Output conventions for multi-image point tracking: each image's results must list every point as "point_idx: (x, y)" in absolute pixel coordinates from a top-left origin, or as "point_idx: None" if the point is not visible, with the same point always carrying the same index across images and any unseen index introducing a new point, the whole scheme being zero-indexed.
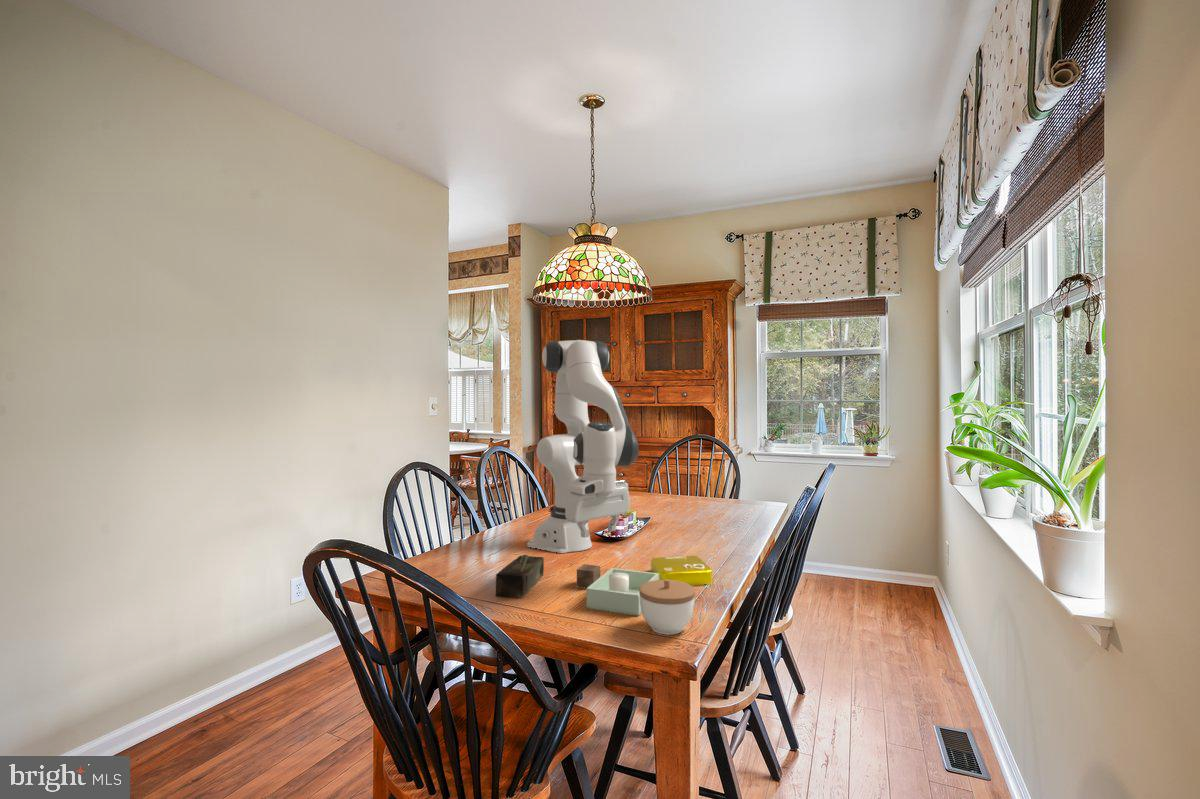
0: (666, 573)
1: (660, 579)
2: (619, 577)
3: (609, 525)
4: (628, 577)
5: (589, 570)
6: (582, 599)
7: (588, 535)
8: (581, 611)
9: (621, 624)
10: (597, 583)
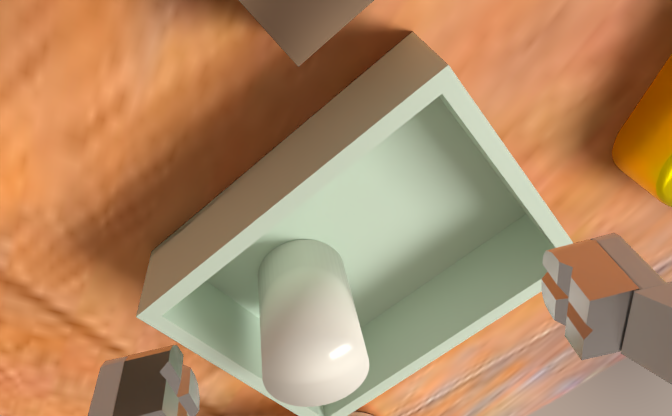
0: (660, 199)
1: (634, 148)
2: (304, 390)
3: (582, 321)
4: (350, 390)
5: (280, 33)
6: (168, 149)
7: (191, 405)
8: (117, 270)
9: (225, 395)
10: (229, 258)
